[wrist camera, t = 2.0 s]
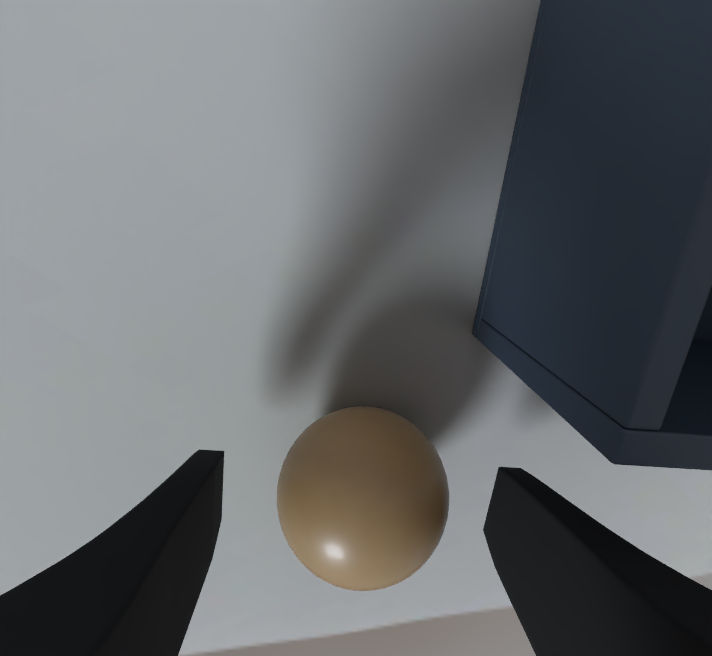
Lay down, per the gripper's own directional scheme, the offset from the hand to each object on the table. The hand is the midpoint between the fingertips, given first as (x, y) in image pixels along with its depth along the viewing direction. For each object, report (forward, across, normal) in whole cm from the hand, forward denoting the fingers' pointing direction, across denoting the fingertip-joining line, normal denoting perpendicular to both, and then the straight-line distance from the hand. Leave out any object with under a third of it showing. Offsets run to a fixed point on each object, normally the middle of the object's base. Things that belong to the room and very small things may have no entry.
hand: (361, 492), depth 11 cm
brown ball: (+2, 0, 0) cm, 2 cm away
